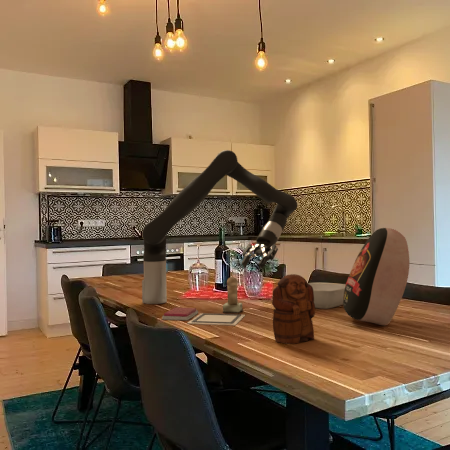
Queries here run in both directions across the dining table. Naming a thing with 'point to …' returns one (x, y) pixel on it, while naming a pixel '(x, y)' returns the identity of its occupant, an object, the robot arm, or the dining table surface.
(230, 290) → the stamp
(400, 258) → the packaged food
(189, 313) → the ink pad
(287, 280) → the wooden figurine
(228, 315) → the print sheet
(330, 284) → the square bowl
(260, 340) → the dining table surface
